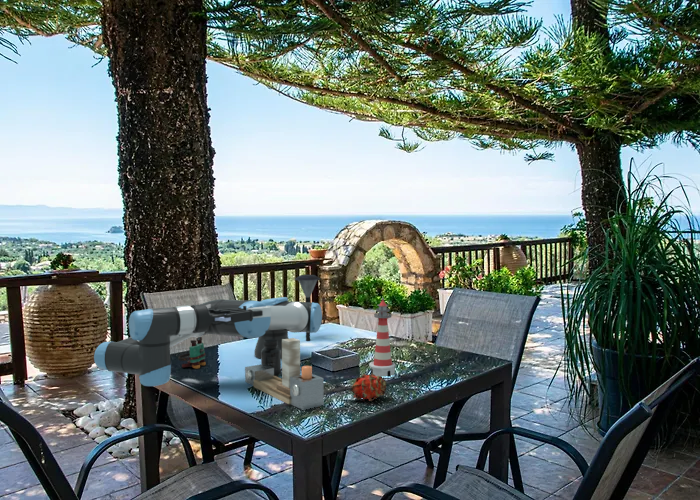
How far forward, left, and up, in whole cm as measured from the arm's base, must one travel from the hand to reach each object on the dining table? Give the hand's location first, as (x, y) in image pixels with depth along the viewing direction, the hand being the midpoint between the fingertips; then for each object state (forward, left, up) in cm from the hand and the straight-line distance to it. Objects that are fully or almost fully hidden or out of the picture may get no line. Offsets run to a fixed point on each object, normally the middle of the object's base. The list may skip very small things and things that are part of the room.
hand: (269, 311), depth 160 cm
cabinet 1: (-7, -20, -27) cm, 35 cm away
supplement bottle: (-15, -27, -27) cm, 41 cm away
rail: (-7, -6, -27) cm, 29 cm away
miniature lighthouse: (-45, -2, -27) cm, 53 cm away
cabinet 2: (-7, +9, -27) cm, 29 cm away
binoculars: (+3, -55, -27) cm, 61 cm away
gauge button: (-7, +9, -22) cm, 25 cm away
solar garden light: (-57, -68, -27) cm, 93 cm away
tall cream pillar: (-7, 0, -25) cm, 26 cm away
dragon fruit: (-24, +16, -27) cm, 40 cm away
